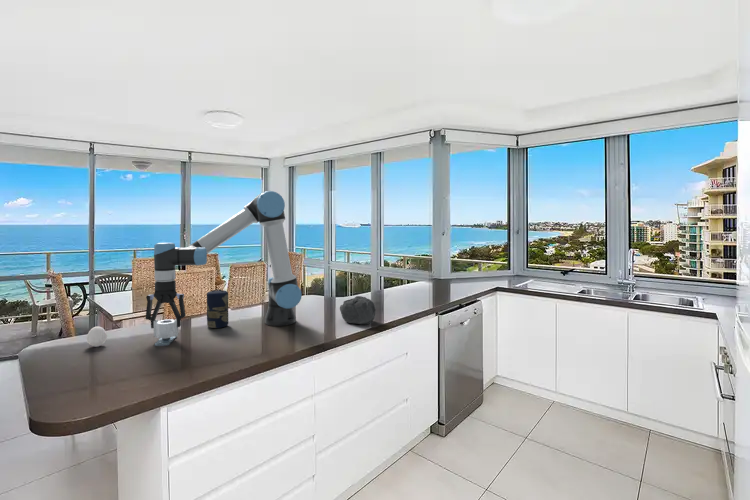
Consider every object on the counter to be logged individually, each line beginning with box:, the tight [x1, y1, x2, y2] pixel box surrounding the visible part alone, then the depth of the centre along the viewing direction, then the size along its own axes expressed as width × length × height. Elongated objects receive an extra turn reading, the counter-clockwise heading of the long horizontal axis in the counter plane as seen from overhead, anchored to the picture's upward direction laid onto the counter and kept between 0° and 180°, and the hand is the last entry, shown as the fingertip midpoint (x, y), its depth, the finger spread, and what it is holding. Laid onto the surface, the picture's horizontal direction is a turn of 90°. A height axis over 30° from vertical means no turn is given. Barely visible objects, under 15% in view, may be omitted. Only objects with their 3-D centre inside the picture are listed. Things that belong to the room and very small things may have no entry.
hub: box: [155, 319, 175, 340], centre depth 155 cm, size 7×7×6 cm
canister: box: [206, 288, 229, 329], centre depth 178 cm, size 10×10×18 cm
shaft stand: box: [154, 335, 178, 347], centre depth 155 cm, size 5×12×7 cm, turn 14°
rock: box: [339, 295, 377, 325], centre depth 191 cm, size 22×14×15 cm
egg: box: [86, 326, 108, 348], centre depth 147 cm, size 6×6×8 cm
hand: (166, 335), depth 155 cm, fingers closed on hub, 7 cm apart
